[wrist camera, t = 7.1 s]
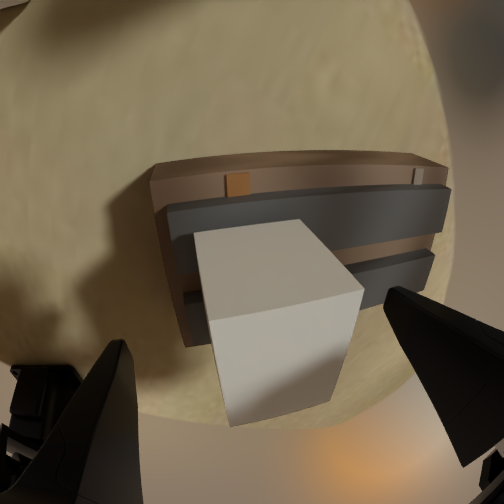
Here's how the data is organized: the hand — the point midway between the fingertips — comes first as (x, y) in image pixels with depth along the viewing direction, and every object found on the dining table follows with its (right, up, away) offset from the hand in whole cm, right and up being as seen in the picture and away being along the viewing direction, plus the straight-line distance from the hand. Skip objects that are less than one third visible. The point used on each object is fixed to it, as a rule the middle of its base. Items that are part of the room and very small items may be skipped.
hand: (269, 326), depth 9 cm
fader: (-1, +1, +3) cm, 3 cm away
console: (+2, +4, +6) cm, 7 cm away
